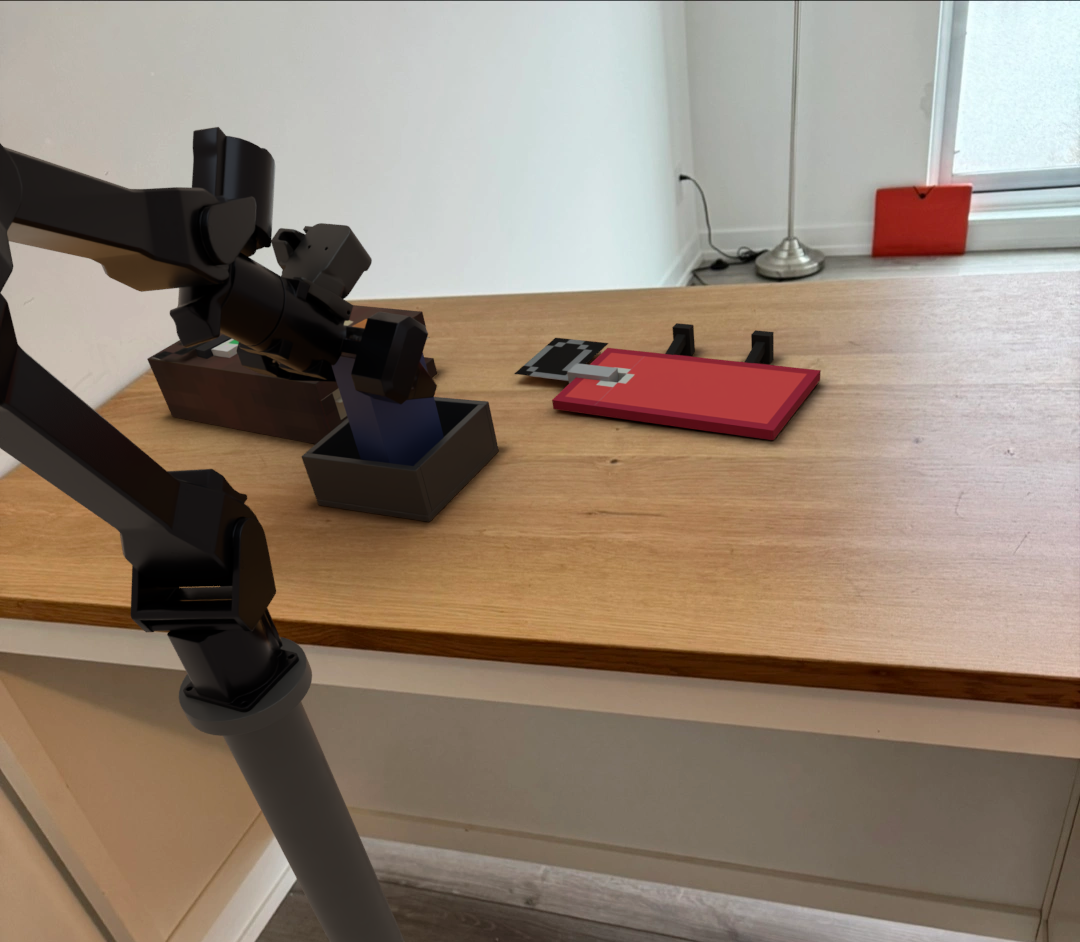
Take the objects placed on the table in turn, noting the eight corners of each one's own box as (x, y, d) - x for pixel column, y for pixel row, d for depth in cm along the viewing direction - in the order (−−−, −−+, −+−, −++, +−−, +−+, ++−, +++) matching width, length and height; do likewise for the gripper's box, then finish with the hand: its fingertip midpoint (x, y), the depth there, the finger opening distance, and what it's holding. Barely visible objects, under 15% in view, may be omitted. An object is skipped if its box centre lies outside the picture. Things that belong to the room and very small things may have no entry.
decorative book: (322, 384, 94) (121, 354, 109) (346, 457, 99) (150, 419, 114) (445, 300, 105) (246, 283, 120) (460, 370, 110) (268, 345, 125)
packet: (399, 498, 90) (355, 347, 81) (368, 486, 93) (322, 338, 84) (450, 464, 93) (414, 316, 84) (419, 454, 96) (380, 308, 87)
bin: (429, 522, 88) (415, 470, 84) (318, 505, 93) (300, 456, 90) (499, 451, 95) (488, 401, 92) (392, 439, 101) (378, 391, 97)
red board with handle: (565, 338, 111) (491, 404, 103) (561, 312, 109) (485, 377, 101) (834, 366, 97) (773, 445, 88) (835, 337, 95) (773, 415, 87)
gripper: (376, 207, 70) (505, 303, 83) (212, 195, 80) (351, 283, 93) (329, 365, 71) (464, 435, 84) (174, 334, 81) (315, 401, 94)
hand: (396, 383), depth 89 cm, fingers open, 9 cm apart
